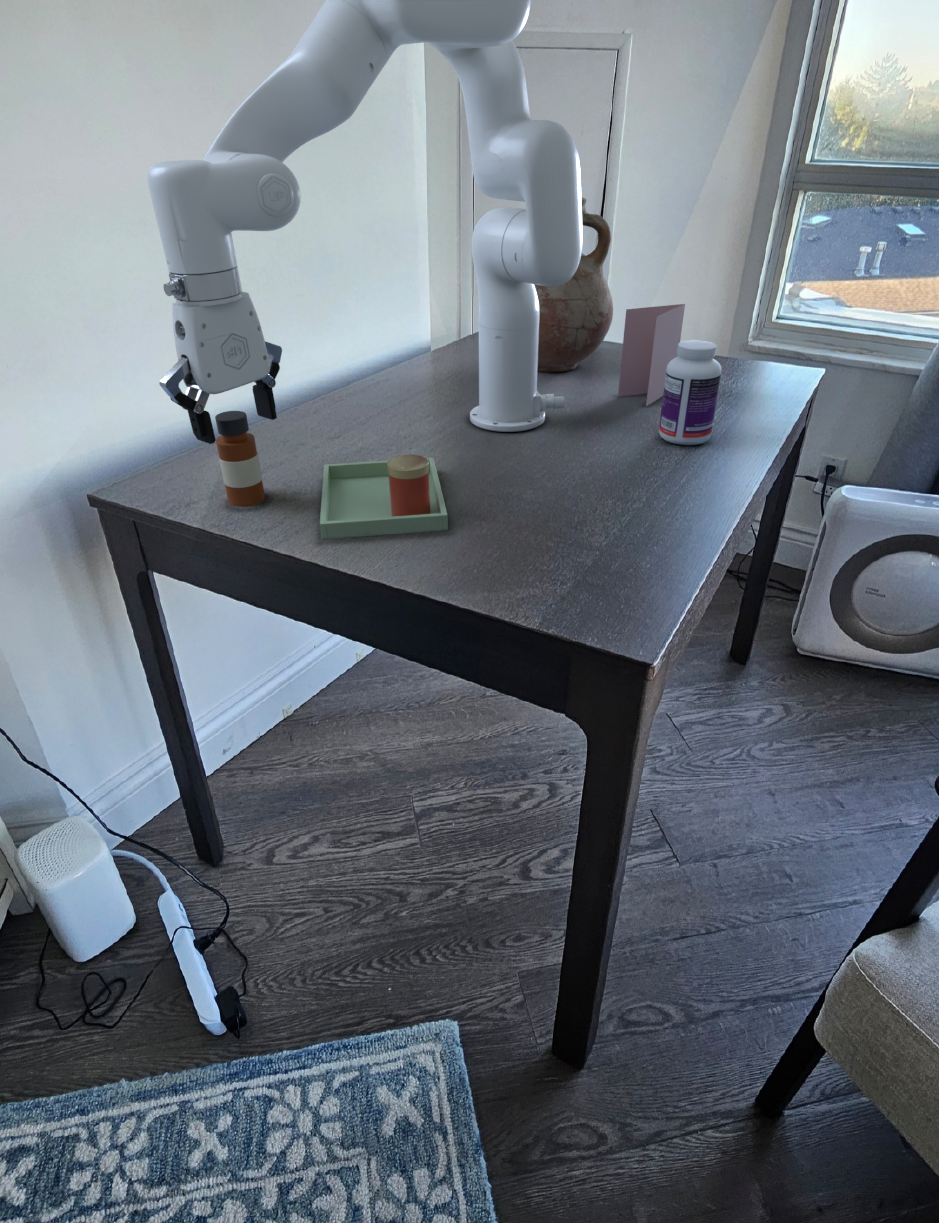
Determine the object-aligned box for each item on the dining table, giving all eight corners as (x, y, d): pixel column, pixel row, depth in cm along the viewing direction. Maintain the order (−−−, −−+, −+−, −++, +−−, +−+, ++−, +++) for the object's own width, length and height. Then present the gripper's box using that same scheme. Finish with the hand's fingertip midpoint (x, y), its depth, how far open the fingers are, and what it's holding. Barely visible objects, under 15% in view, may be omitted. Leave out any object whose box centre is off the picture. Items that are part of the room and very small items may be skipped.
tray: (434, 474, 108) (433, 457, 107) (448, 533, 93) (447, 514, 92) (326, 481, 107) (323, 464, 105) (322, 543, 92) (319, 523, 90)
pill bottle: (714, 433, 121) (730, 340, 113) (705, 450, 115) (721, 354, 107) (663, 426, 123) (676, 335, 115) (652, 443, 117) (664, 348, 109)
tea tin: (429, 503, 99) (426, 452, 95) (432, 520, 95) (430, 468, 91) (390, 506, 99) (386, 455, 95) (392, 523, 94) (388, 471, 91)
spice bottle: (267, 493, 104) (252, 407, 97) (264, 509, 100) (248, 421, 93) (231, 495, 103) (213, 410, 97) (226, 511, 99) (207, 423, 93)
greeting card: (670, 388, 140) (682, 302, 132) (692, 400, 134) (706, 311, 126) (615, 395, 137) (623, 308, 129) (635, 407, 131) (645, 317, 123)
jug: (501, 351, 163) (503, 192, 146) (601, 351, 162) (614, 191, 145) (501, 381, 145) (503, 205, 128) (614, 381, 144) (631, 203, 127)
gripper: (160, 304, 79) (198, 458, 89) (286, 275, 90) (308, 414, 100) (120, 297, 83) (161, 444, 93) (246, 269, 94) (271, 403, 104)
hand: (237, 428), depth 96 cm, fingers open, 9 cm apart
